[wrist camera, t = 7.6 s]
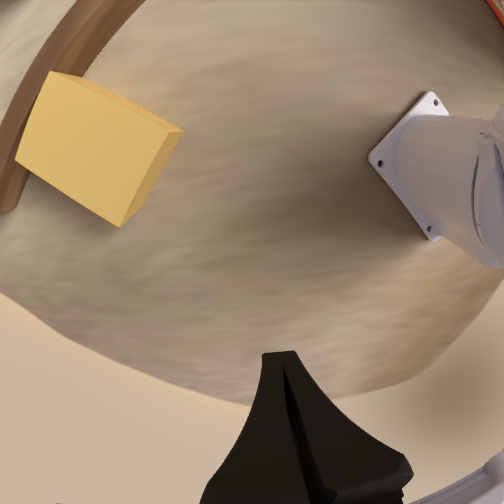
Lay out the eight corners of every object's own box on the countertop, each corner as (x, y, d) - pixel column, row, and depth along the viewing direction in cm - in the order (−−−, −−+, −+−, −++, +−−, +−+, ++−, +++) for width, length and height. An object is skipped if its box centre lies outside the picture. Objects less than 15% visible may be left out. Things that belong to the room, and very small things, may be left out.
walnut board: (195, -43, 12) (187, -72, 8) (16, 206, 18) (-13, 222, 15) (175, -52, 11) (164, -79, 7) (3, 193, 18) (-26, 207, 14)
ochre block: (185, 131, 18) (169, 132, 13) (142, 206, 19) (119, 227, 15) (84, 78, 15) (49, 70, 11) (51, 150, 17) (14, 159, 13)
